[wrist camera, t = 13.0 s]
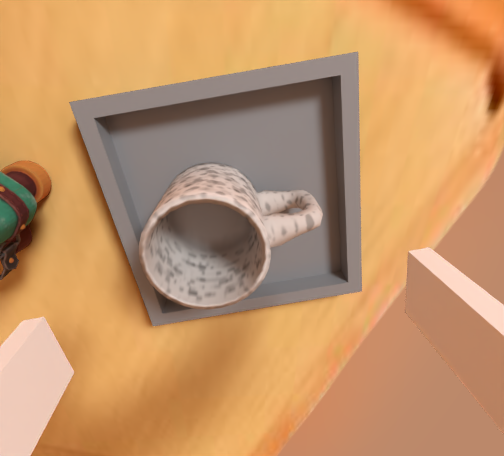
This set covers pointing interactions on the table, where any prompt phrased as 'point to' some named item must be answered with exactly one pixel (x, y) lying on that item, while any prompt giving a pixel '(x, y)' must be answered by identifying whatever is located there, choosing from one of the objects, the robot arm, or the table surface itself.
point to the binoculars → (19, 208)
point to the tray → (241, 166)
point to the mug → (218, 235)
